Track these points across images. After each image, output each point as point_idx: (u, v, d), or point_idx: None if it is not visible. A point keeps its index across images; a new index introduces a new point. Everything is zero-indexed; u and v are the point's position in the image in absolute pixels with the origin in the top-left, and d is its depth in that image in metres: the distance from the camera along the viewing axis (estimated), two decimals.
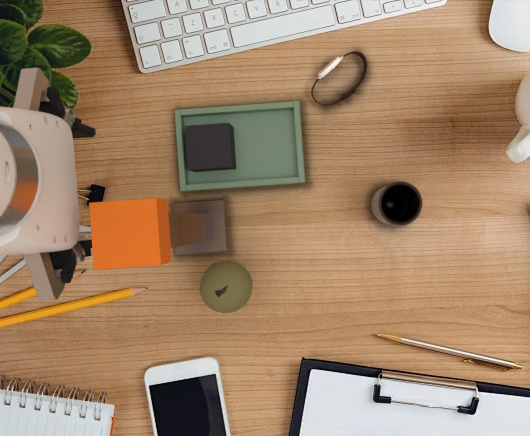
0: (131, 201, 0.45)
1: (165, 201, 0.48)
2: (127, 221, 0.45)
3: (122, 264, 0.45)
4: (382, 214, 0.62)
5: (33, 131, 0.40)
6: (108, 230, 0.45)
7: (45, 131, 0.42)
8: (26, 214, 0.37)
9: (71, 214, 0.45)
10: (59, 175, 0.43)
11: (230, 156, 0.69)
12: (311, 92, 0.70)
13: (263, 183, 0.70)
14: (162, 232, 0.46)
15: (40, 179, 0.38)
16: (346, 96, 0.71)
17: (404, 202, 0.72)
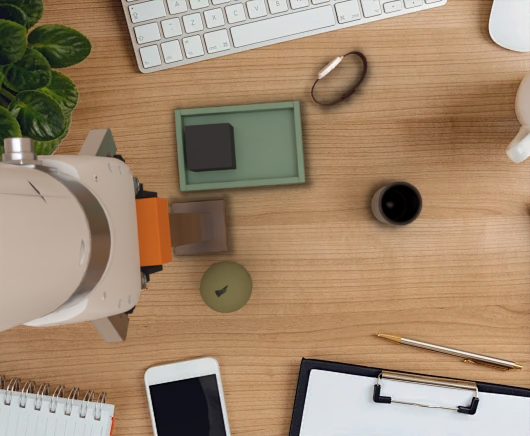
0: None
1: (165, 201, 0.48)
2: None
3: None
4: (382, 214, 0.62)
5: (99, 183, 0.35)
6: None
7: (110, 180, 0.36)
8: (96, 285, 0.32)
9: (134, 270, 0.40)
10: (124, 229, 0.38)
11: (230, 156, 0.69)
12: (311, 92, 0.70)
13: (263, 183, 0.70)
14: (162, 232, 0.46)
15: (113, 243, 0.32)
16: (346, 96, 0.71)
17: (404, 202, 0.72)
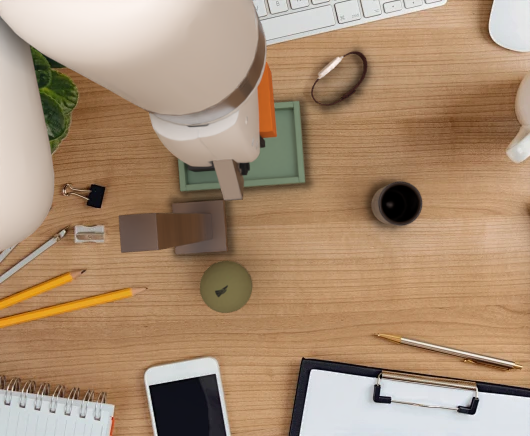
0: None
1: (270, 72, 0.46)
2: None
3: None
4: (382, 214, 0.62)
5: None
6: None
7: None
8: (249, 95, 0.30)
9: (258, 119, 0.38)
10: None
11: None
12: (311, 92, 0.70)
13: (263, 183, 0.70)
14: (271, 100, 0.45)
15: (266, 51, 0.30)
16: (346, 96, 0.71)
17: (404, 202, 0.72)
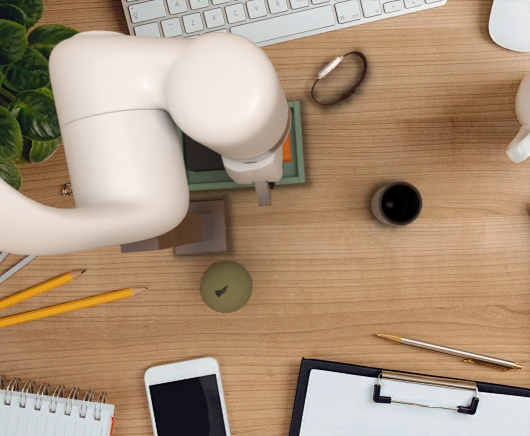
0: None
1: None
2: None
3: None
4: (382, 214, 0.62)
5: None
6: None
7: None
8: (281, 145, 0.52)
9: None
10: None
11: None
12: (311, 92, 0.70)
13: None
14: (288, 138, 0.66)
15: (290, 119, 0.52)
16: (346, 96, 0.71)
17: (404, 202, 0.72)
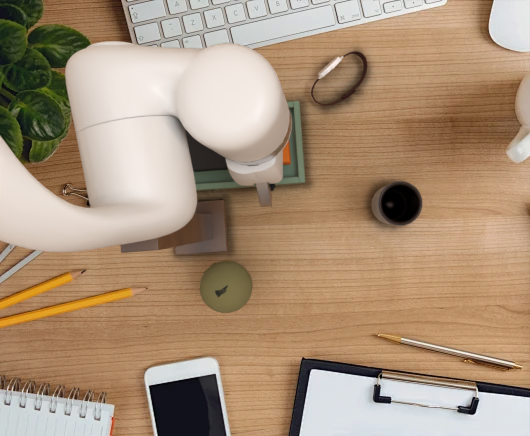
0: None
1: None
2: None
3: None
4: (382, 214, 0.62)
5: None
6: None
7: None
8: (282, 148, 0.54)
9: None
10: None
11: None
12: (311, 92, 0.70)
13: None
14: (288, 141, 0.69)
15: (291, 124, 0.54)
16: (346, 96, 0.71)
17: (404, 202, 0.72)
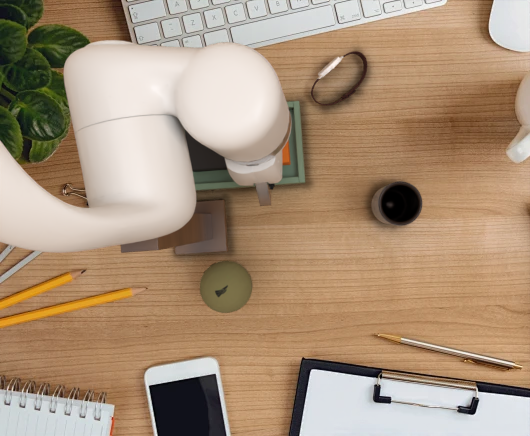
0: None
1: None
2: None
3: None
4: (382, 214, 0.62)
5: None
6: None
7: None
8: (282, 148, 0.54)
9: None
10: None
11: None
12: (311, 92, 0.70)
13: None
14: None
15: (291, 123, 0.54)
16: (346, 96, 0.71)
17: (404, 202, 0.72)
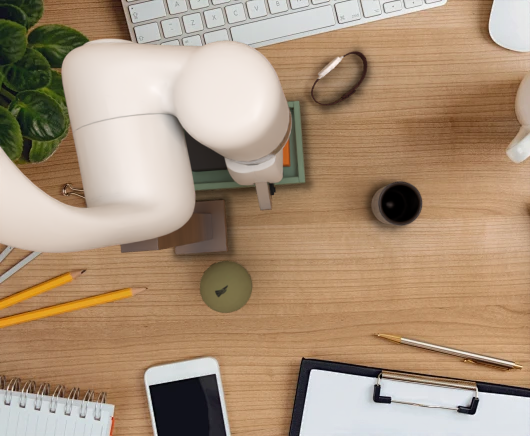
0: None
1: None
2: None
3: None
4: (382, 214, 0.62)
5: None
6: None
7: None
8: (282, 147, 0.54)
9: None
10: None
11: None
12: (311, 92, 0.70)
13: None
14: (288, 144, 0.70)
15: (291, 123, 0.54)
16: (346, 96, 0.71)
17: (404, 202, 0.72)
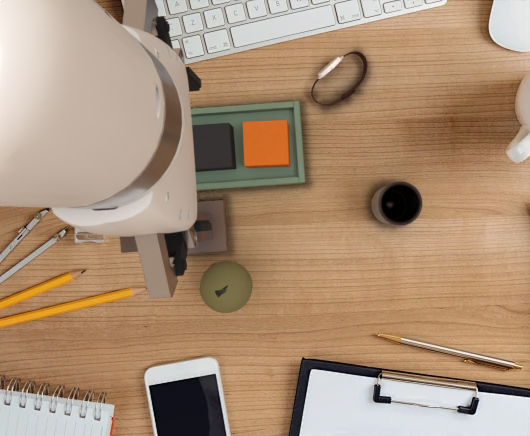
0: (270, 121, 0.68)
1: (288, 125, 0.71)
2: (267, 135, 0.69)
3: (263, 163, 0.69)
4: (382, 214, 0.62)
5: (160, 61, 0.29)
6: (254, 140, 0.69)
7: (170, 65, 0.30)
8: (163, 174, 0.26)
9: (192, 183, 0.34)
10: None
11: (230, 156, 0.69)
12: (311, 92, 0.70)
13: (263, 183, 0.70)
14: (288, 144, 0.70)
15: (183, 123, 0.26)
16: (346, 96, 0.71)
17: (404, 202, 0.72)
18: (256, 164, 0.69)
